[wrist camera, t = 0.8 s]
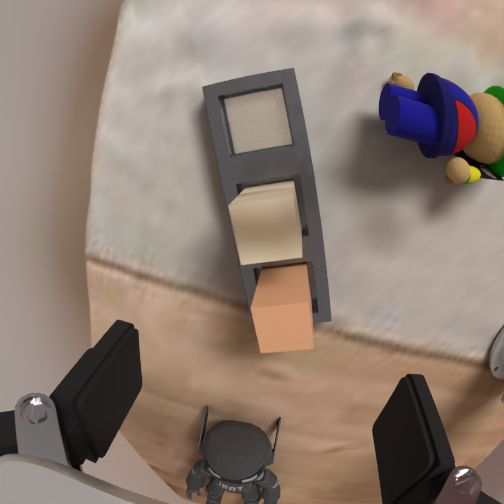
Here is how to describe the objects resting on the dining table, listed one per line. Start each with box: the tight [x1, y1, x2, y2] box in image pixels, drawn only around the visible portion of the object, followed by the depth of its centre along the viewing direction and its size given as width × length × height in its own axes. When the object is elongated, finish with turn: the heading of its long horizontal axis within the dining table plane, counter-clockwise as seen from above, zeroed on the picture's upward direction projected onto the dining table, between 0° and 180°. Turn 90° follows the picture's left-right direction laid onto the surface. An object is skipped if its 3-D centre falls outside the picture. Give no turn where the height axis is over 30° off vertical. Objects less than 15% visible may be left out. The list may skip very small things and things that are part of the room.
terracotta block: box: [251, 261, 314, 353], centre depth 28 cm, size 4×4×8 cm
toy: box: [379, 72, 504, 184], centre depth 21 cm, size 12×9×15 cm
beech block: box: [228, 179, 302, 265], centre depth 26 cm, size 4×4×8 cm
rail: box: [202, 68, 331, 329], centre depth 29 cm, size 24×8×3 cm, turn 11°
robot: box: [186, 406, 281, 504], centre depth 44 cm, size 17×10×30 cm
